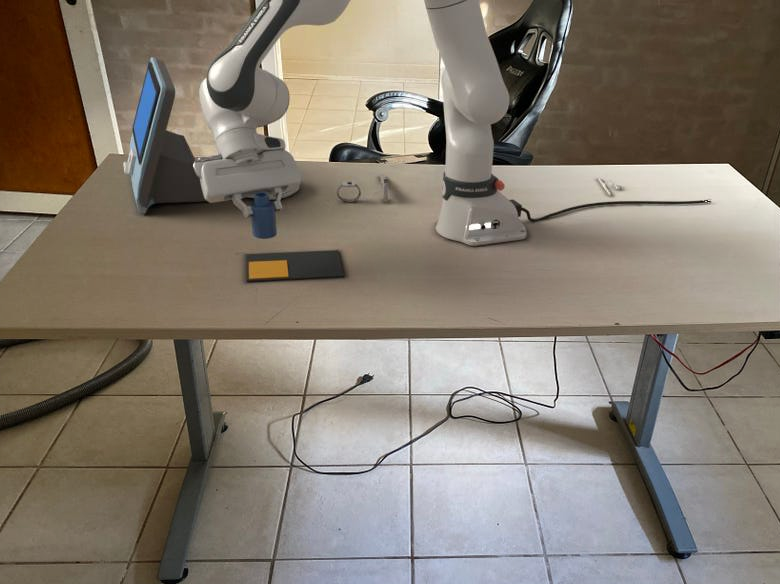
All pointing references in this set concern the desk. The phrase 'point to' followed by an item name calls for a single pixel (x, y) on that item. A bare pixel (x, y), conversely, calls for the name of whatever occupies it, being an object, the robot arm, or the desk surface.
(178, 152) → the touchscreen device
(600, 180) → the picture light
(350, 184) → the wristwatch
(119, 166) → the desk surface
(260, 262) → the desk mat
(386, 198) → the caliper
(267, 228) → the vase
